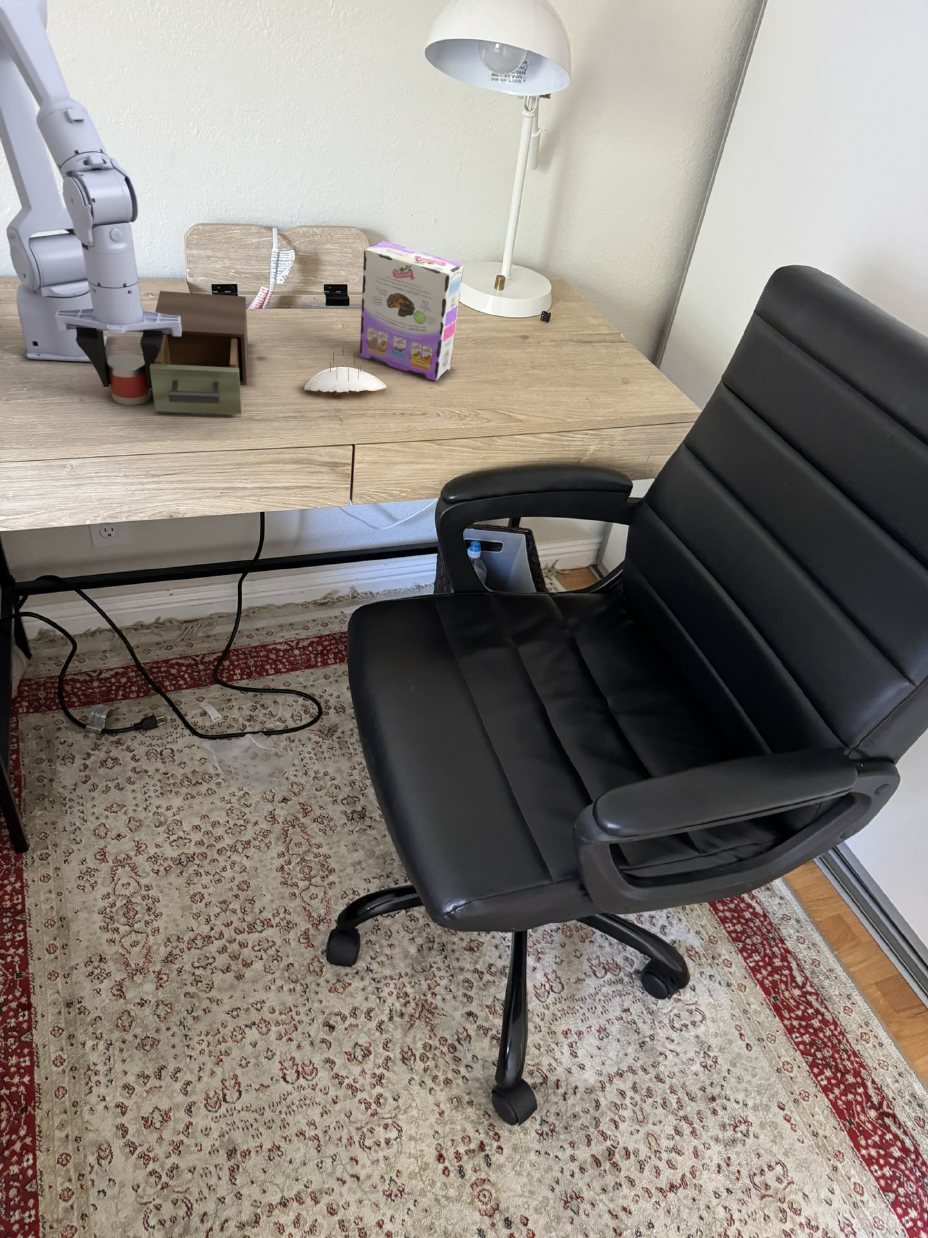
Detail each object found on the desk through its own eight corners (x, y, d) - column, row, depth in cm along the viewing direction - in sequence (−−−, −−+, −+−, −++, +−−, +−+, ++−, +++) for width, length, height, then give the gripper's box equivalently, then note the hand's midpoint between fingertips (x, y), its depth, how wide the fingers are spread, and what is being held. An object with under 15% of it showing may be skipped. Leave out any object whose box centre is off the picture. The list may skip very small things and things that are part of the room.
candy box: (451, 369, 127) (466, 263, 116) (435, 383, 123) (449, 273, 112) (375, 343, 130) (382, 237, 119) (357, 356, 126) (362, 247, 115)
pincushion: (381, 380, 121) (384, 344, 117) (390, 400, 117) (393, 363, 113) (301, 381, 118) (301, 343, 114) (307, 401, 113) (308, 363, 110)
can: (109, 404, 106) (103, 368, 102) (114, 386, 109) (108, 351, 106) (148, 405, 107) (144, 370, 103) (152, 388, 110) (147, 353, 107)
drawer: (240, 430, 104) (238, 387, 100) (152, 427, 102) (146, 383, 98) (242, 371, 116) (240, 331, 112) (163, 368, 113) (158, 326, 109)
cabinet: (246, 384, 115) (244, 333, 110) (157, 381, 112) (151, 328, 107) (247, 344, 124) (245, 296, 119) (165, 340, 121) (159, 290, 116)
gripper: (41, 288, 93) (65, 396, 102) (173, 295, 96) (185, 400, 105) (53, 267, 98) (74, 372, 107) (178, 274, 101) (189, 376, 110)
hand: (130, 384), depth 106 cm, fingers closed on can, 5 cm apart
